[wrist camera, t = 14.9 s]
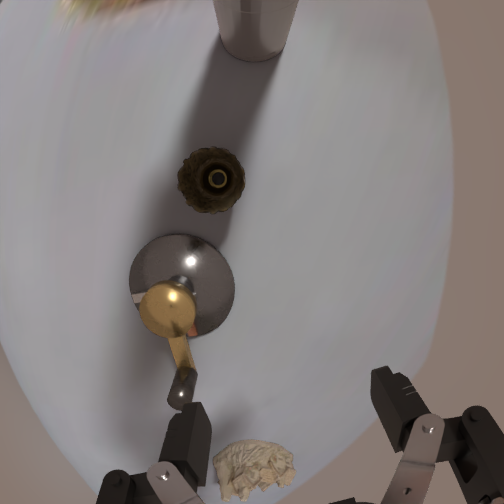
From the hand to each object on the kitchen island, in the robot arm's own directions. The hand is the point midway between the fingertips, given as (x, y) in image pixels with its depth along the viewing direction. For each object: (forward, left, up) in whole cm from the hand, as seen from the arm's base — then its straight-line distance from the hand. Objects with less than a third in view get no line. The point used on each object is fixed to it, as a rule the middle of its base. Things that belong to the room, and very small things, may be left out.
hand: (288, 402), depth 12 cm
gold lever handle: (+8, -13, -24) cm, 28 cm away
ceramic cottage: (+49, -11, -30) cm, 58 cm away
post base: (+4, -13, -30) cm, 33 cm away
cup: (-10, -4, -30) cm, 32 cm away
